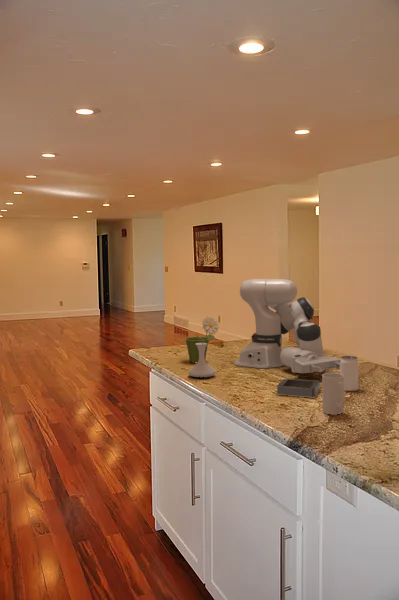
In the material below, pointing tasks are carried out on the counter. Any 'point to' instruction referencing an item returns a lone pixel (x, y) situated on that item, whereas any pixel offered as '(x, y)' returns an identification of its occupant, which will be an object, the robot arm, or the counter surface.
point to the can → (349, 372)
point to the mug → (333, 393)
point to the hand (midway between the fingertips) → (331, 368)
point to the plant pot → (195, 348)
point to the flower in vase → (202, 367)
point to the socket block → (298, 388)
